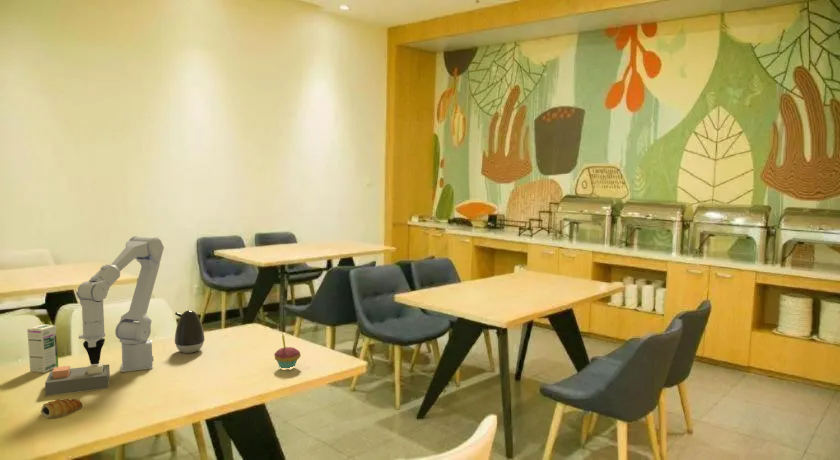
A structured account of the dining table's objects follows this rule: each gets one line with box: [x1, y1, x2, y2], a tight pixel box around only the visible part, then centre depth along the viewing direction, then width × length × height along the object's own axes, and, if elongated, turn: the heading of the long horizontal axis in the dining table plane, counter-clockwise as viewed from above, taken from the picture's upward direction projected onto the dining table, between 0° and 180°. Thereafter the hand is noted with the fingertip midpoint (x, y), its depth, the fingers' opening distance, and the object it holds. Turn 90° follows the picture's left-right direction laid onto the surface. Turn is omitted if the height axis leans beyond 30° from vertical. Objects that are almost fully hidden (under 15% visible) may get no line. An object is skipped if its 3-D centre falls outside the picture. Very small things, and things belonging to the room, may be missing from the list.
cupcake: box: [273, 332, 301, 368], centre depth 198 cm, size 9×8×12 cm
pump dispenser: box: [174, 309, 205, 354], centre depth 214 cm, size 10×10×15 cm
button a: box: [86, 361, 104, 374], centre depth 181 cm, size 4×4×4 cm
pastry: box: [40, 398, 83, 419], centre depth 160 cm, size 9×7×4 cm
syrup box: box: [26, 323, 59, 374], centre depth 193 cm, size 6×6×14 cm
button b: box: [52, 365, 71, 378], centre depth 177 cm, size 4×4×4 cm
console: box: [44, 364, 111, 397], centre depth 179 cm, size 16×11×4 cm
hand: (95, 363), depth 181 cm, fingers closed
